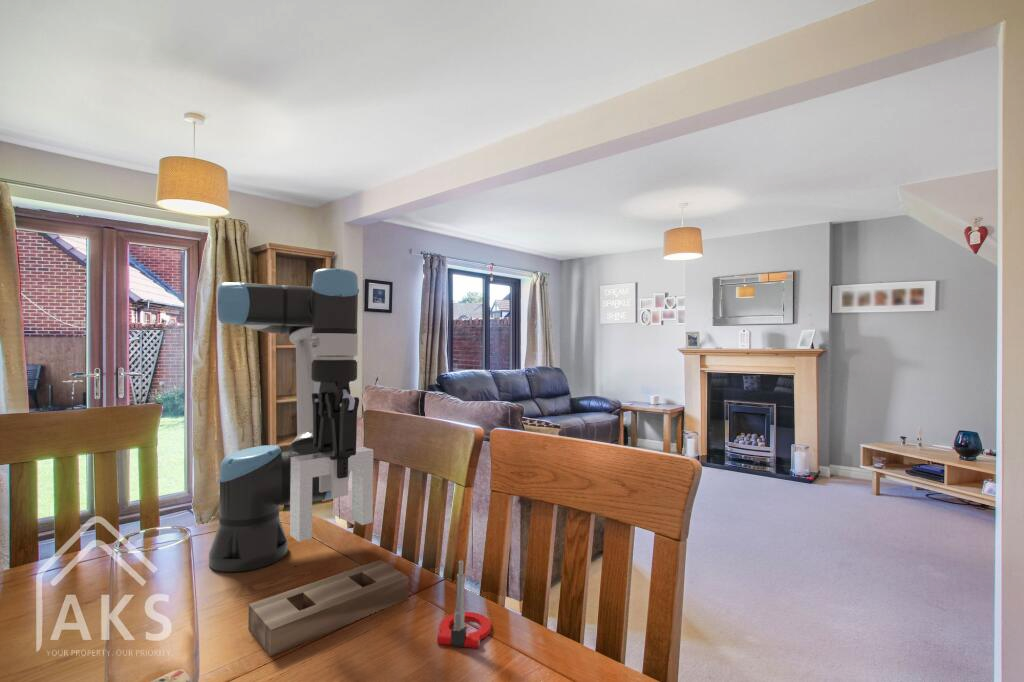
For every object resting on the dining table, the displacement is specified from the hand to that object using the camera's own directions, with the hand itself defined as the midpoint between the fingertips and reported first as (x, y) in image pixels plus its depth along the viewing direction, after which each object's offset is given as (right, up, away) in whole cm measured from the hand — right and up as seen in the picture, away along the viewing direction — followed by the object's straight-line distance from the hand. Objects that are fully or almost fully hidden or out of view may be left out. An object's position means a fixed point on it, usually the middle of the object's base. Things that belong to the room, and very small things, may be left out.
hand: (333, 493), depth 86 cm
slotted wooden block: (0, -21, 0) cm, 21 cm away
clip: (0, -6, 0) cm, 6 cm away
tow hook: (+23, -21, -5) cm, 32 cm away
